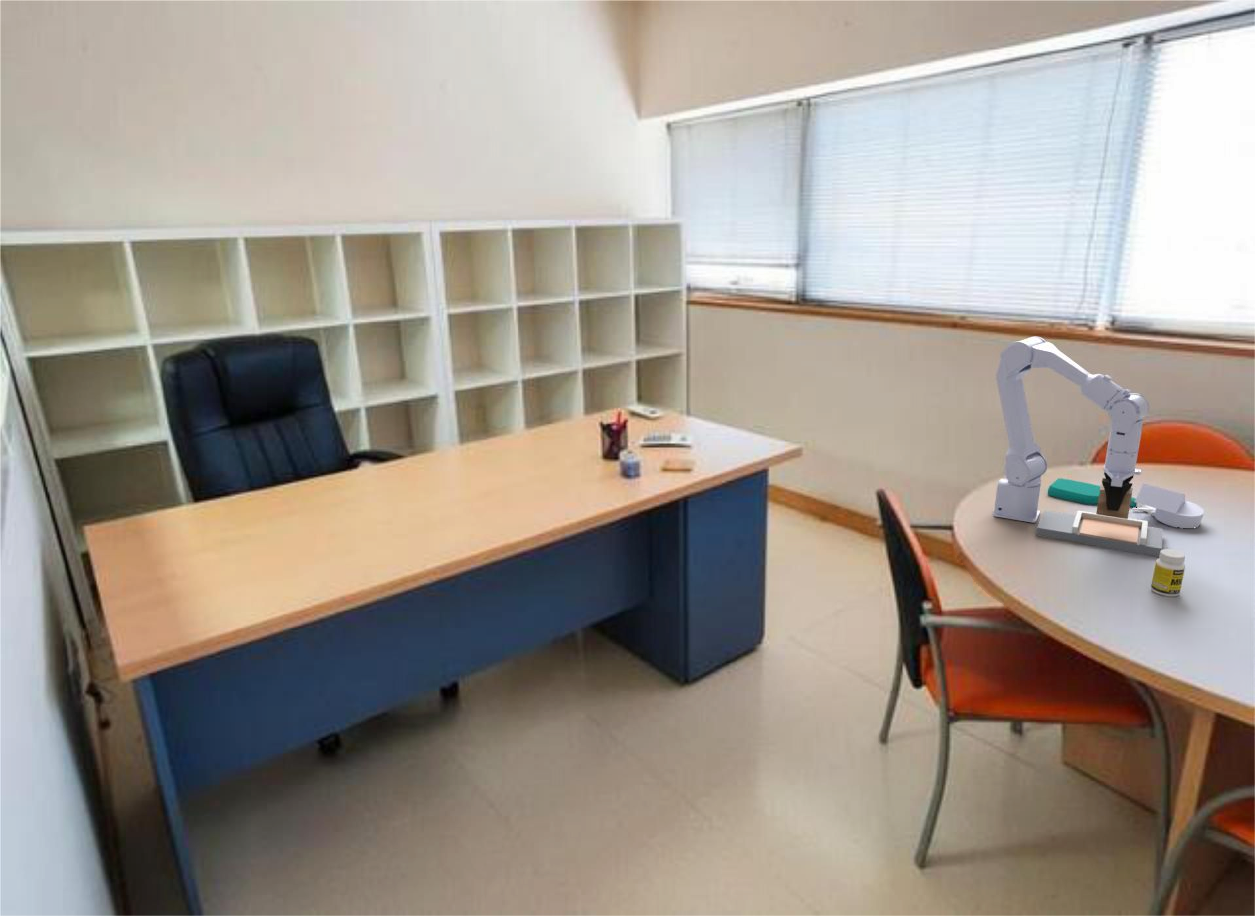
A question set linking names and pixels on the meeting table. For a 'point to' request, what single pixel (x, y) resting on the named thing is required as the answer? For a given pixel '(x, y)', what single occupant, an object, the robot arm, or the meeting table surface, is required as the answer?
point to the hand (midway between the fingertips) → (1113, 506)
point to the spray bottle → (1085, 493)
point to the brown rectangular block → (1120, 513)
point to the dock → (1102, 531)
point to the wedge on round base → (1170, 507)
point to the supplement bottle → (1168, 573)
